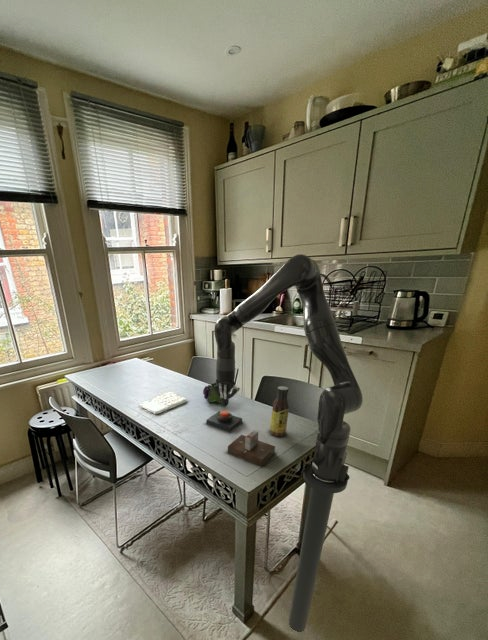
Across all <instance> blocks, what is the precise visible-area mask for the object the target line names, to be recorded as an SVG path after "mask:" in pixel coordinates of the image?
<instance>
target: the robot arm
mask: <svg viewBox="0 0 488 640" xmlns="http://www.w3.org/2000/svg"><path fill="white" fill-rule="evenodd" d="M293 287H294V288H295V289H296V291H297V293H298V296H299V299H300V300H301V304H302V309H303V311H302V312H303V317H302V319H303V332H304V335H305V338H306V341H307V344H308V347H309V350H310V351H311V353H312V354H313V355H314V356H315V357H316V359H318V360H319V362H321V364H322V365H323V366H324V367H325V368H326V369H327V371H328V372H329V375H330V376H331V379H332V382H333V385H331V386H328V387H326V388H324V389H323V390H322V391H321V393H320V396H319V398H318V399H319V400H318V408H317V417H316V418H317V424H318V429H317V433H316V434H317V435H316V440H315V446H314V452H313V458H312V463H313V464H312V469H311V474H312V476H313V477H314V478H315V479H316V480H318V481H320V482H323V483H328V484H336V485H337V484H338V482H339V481H341V482H343V481H347V480H348V481H349V480H350V475H349V473H348V472H349V469H350V466H349V465H345V463H346V459H347V455H348V452H347V448H348V443H349V440H350V435H351V425H350V424H349V423H348V422H346V421H345V420H344V418H345V415H347V414H350V413H353V412H357V411H359V410H360V409H361V407H362V406H363V402H364V401H363V399H364V398H363V393H362V390H361V388H360V387H361V386H360V385H359V383H358V380H357V379H356V375H355V374H354V372H353V369H352V367H351V364H350V362H349V359H348V357H347V354H346V351H345V348H344V346H343V343H342V339H341V335H340V332H339V329H338V326H337V323H336V320H335V318H334V315H333V312H332V310H331V309H332V308H331V307H330V305H329V303H328V300H327V297H326V294H325V290H324V286H323V280H322V275H321V269H320V267H319V265H318V263H317V261H316V260H314V259H313V258H311V257H310V256H308V255H306V254H303V253H299V254H295V255H293V256H291V258H289V259H288V260H287V261H286V262H285V263H284V264H283V265H282V266H281V267H280V268H279V269H278V270H277V271H276V272H275V273H274V274H273V275H272V276H271V277H270V278H269V279H268V280H267V281H266V282H265V283H264V284H263V285H262V286H261V287H260V288H258V290H256V291H255V292H254V293H253V294H251V295H250V296H248V297H247V298H246V299H245V300H243V301H242V302H241V303H239V304H238V305H237V306H236V307H235V309H234V310H233V311H231V312H230V313H228V314H227V315H225V316H223V317H221V318H219V319H217V320H216V322H215V324H214V328H213V331H214V333H213V334H214V338H215V344H216V362H215V378H216V379H215V381H214V382H212V383H211V384H210V385H211V386H212V387H213V389H214V390H215V392H216V394H217V395H218V396H220V397H221V401H220V404H221V407H223V408H224V407H225V408H226V407H227V406H229V403H230V399H231V398H233V397H234V396H235V395H236V394H238V392H239V391H240V390H241V388H240V387H238V386H236V382H235V378H236V344H235V343H234V341H233V338H232V337H233V336H232V335H233V334H234V333H236V332H237V331H238V330H239V329H241V328H242V327H243V326H244V325H246V324H248V323H250V321H252V320H254V319H255V318H256V317H258V316H259V315H261V314H262V313H263V312H264V311H265V310H266V309H267V308H268V307H269V305H270V304H271V303H273V301H274V300H275V299H276V298H277V297H278V296H279V295H281V294H282V293H283V292H285V291H287V290H289V289H291V288H293ZM218 391H219V392H218ZM345 477H346V478H345Z"/></svg>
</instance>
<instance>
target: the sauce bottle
mask: <svg viewBox="0 0 488 640" xmlns="http://www.w3.org/2000/svg"><path fill="white" fill-rule="evenodd" d="M276 391H277V393H276V399H275V400H274V401H273V403H272V409H271V417H270V425H269V432H270V434H271V435H273V436H275V437H282V436H284V435H285V434H286V431H287V425H288V418H289V410H290V406H289V401H288V394H289V387H287V386H285V385H282V386H277V390H276Z"/></svg>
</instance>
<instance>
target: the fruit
mask: <svg viewBox="0 0 488 640" xmlns="http://www.w3.org/2000/svg"><path fill="white" fill-rule="evenodd" d="M218 392H219V391H218ZM202 394H203V398H204V399H205V400H206V401H207V403H212V402H213V403H215V402H217V403H218V404H220V403H221V397H220V396H218V395H217V394H216V392H215V390H214V389H213V387H212V385H211V384H208V385H205V386H204V388H203V390H202Z"/></svg>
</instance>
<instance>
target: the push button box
mask: <svg viewBox="0 0 488 640" xmlns="http://www.w3.org/2000/svg"><path fill="white" fill-rule="evenodd" d="M220 412H221V411H220V410H219V411H217V412H215V413H214V414H213V415H211V416H209V417H208V418H207V419H206V421H205V422H206V425H208V426H211V427H214V428H216V429H219V430H222V431H224V432H228V433H231V432H232V431H234V430H235V429H237V428H238V427H239V426H240V425H241V424H243V418H242V417H239V416H236V415H233V414H232V412H231V413H230V412H229V416H228V417H227V418H223V417H221V416H220Z"/></svg>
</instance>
